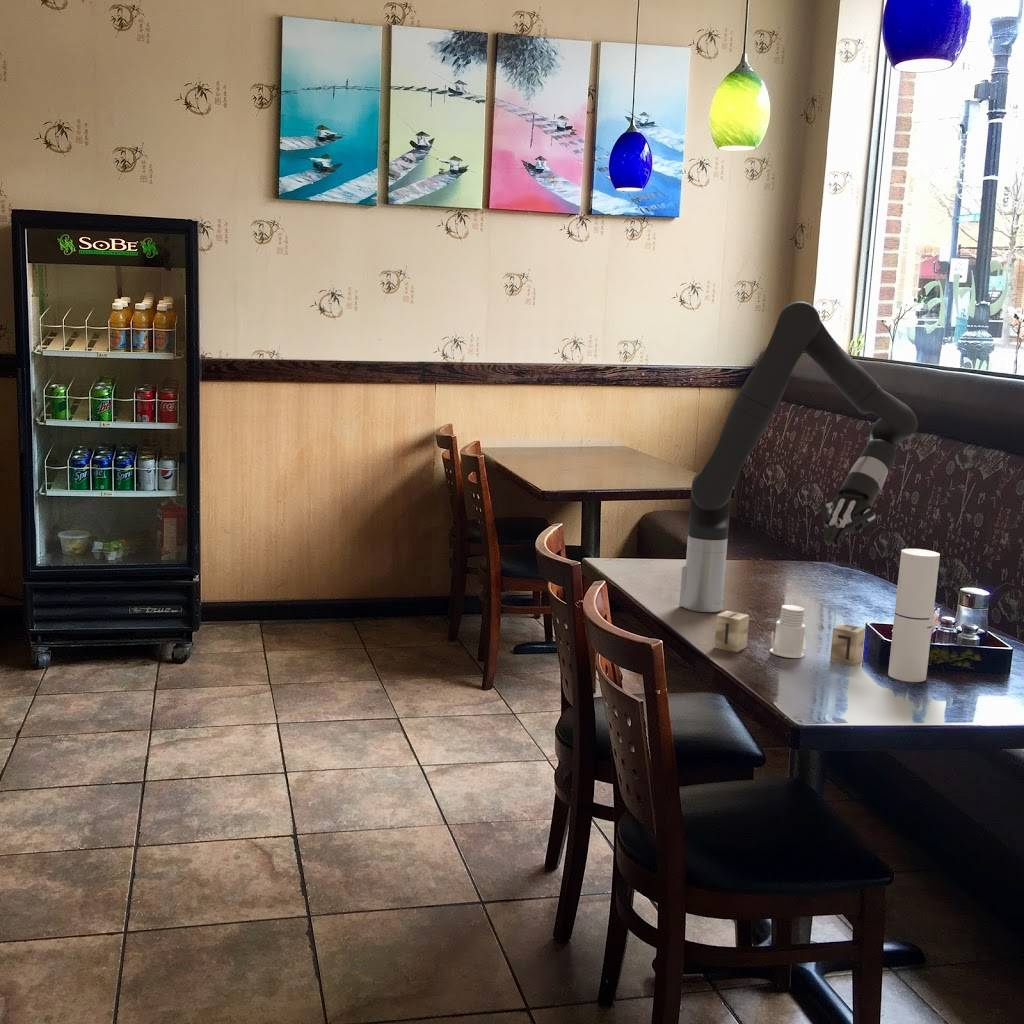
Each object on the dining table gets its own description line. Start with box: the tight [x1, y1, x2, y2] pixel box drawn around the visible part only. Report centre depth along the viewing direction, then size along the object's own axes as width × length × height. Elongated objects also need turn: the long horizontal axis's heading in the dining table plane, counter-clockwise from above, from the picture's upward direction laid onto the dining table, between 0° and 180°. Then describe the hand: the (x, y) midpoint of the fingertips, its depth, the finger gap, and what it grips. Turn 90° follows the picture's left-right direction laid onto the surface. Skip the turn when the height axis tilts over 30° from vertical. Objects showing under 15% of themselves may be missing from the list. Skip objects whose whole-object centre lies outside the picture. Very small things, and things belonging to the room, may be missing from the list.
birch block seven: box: [829, 622, 866, 667], centre depth 243 cm, size 5×5×7 cm
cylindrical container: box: [887, 548, 941, 683], centre depth 232 cm, size 7×7×25 cm
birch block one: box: [714, 610, 750, 653], centre depth 248 cm, size 5×5×7 cm
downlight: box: [769, 604, 808, 659], centre depth 245 cm, size 8×7×10 cm
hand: (830, 543), depth 251 cm, fingers closed
